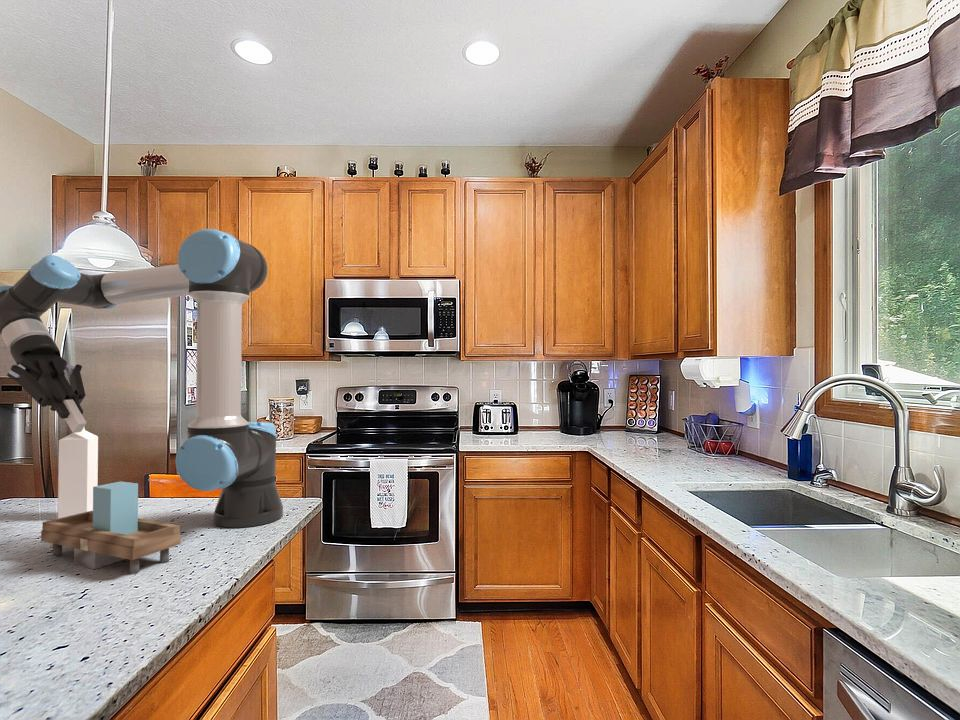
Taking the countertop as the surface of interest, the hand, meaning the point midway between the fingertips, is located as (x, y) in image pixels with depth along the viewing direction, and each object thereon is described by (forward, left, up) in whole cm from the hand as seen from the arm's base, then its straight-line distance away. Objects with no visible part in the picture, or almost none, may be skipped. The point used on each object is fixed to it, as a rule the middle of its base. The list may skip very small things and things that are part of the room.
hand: (79, 427), depth 105 cm
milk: (+14, -25, -24) cm, 37 cm away
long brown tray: (-10, +7, -24) cm, 27 cm away
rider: (-11, +8, -19) cm, 24 cm away
